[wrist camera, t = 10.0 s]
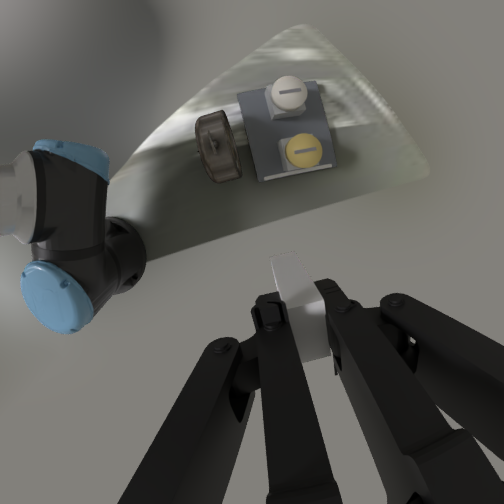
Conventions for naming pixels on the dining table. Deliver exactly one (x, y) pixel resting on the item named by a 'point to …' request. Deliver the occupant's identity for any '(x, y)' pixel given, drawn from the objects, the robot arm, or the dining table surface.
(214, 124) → the alarm clock
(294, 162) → the knob mustard
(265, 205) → the dining table surface
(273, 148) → the mount
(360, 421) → the robot arm
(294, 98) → the knob ivory
